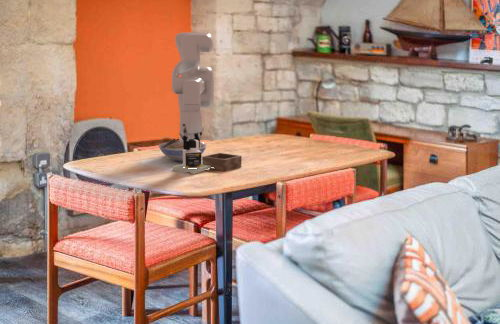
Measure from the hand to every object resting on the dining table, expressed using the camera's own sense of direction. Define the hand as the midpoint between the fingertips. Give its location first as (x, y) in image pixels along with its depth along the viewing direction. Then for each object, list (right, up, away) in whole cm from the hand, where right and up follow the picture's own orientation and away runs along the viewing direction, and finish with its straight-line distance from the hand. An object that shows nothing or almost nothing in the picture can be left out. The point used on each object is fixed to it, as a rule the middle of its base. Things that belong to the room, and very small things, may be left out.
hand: (191, 148), depth 334 cm
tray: (0, -10, +2) cm, 10 cm away
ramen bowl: (-6, -6, +24) cm, 25 cm away
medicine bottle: (0, -8, +1) cm, 8 cm away
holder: (+13, -8, +9) cm, 18 cm away
